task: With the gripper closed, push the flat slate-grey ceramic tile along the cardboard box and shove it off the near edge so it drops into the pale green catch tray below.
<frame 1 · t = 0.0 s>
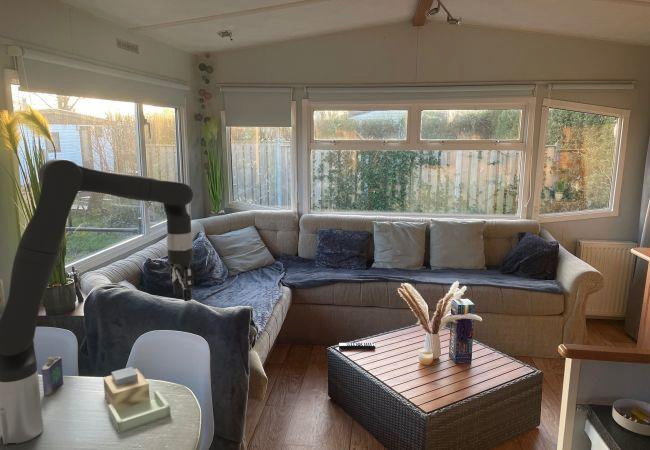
hand: (182, 297, 149), 29 cm above the table, fingers open, 8 cm apart
flask: (53, 389, 150), on the table
tile: (124, 379, 144), point 6 cm above the table, touching cardboard box
cardboard box: (127, 398, 144), on the table
tray: (139, 415, 136), on the table
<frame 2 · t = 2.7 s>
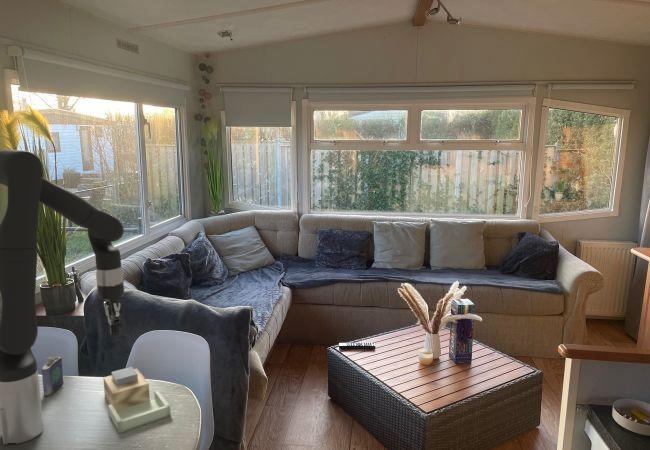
hand: (114, 334, 149), 17 cm above the table, fingers closed
nothing on the table moved.
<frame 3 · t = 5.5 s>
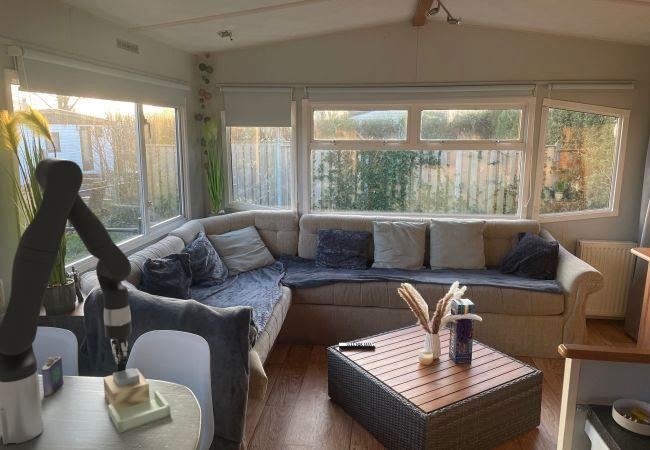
hand: (121, 373, 147), 7 cm above the table, fingers closed
tile: (126, 380, 143), point 6 cm above the table, touching cardboard box
everything else where it was.
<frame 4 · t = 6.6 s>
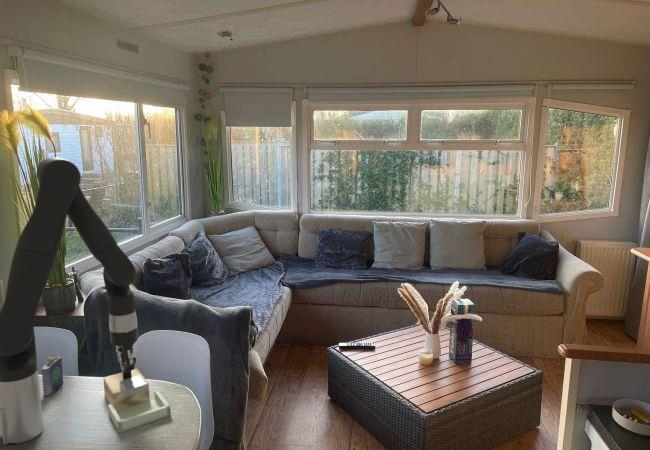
hand: (127, 381, 142), 7 cm above the table, fingers closed
tile: (133, 388, 139), point 6 cm above the table, touching cardboard box, gripper
everything else where it was.
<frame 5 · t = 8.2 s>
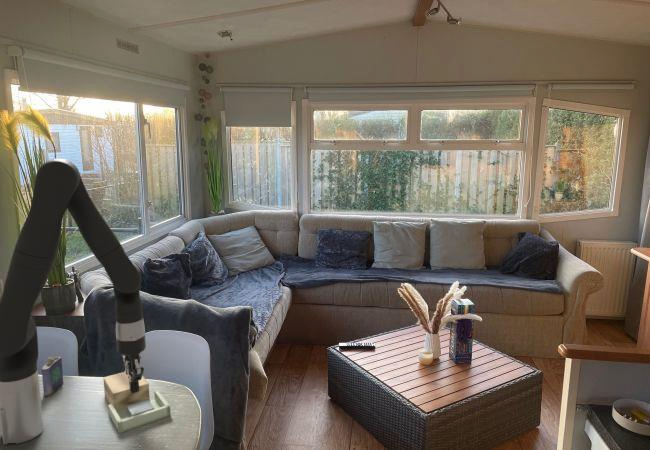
hand: (134, 391, 136), 7 cm above the table, fingers closed
tile: (140, 406, 135), point 2 cm above the table, tilted 180°, touching tray
everything else where it was.
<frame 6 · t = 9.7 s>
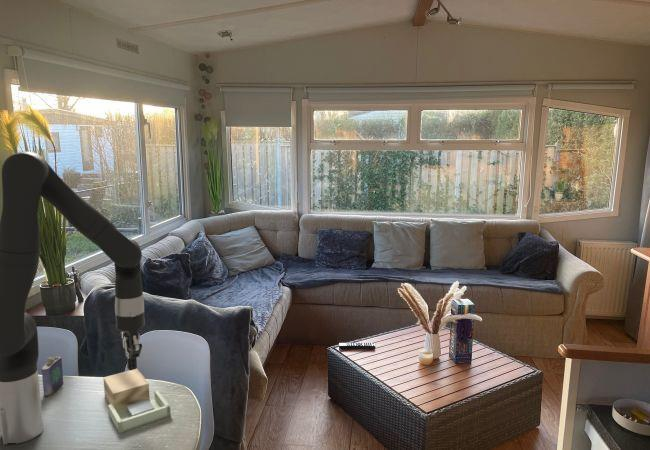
hand: (132, 368, 135), 14 cm above the table, fingers closed
nothing on the table moved.
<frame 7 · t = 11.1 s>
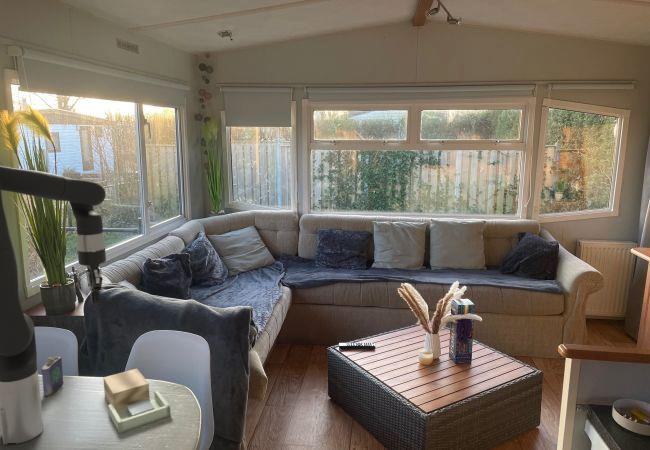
hand: (95, 302, 146), 28 cm above the table, fingers closed
nothing on the table moved.
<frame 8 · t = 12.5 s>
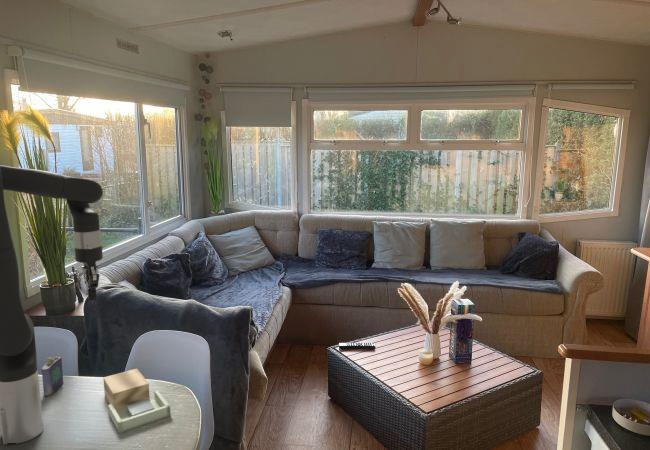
hand: (92, 299, 147), 29 cm above the table, fingers closed
nothing on the table moved.
at the end: tile inside the target area on the tray (0.3 cm from its centre), point 2.5 cm above the tray's base; tile moved 12.9 cm from its start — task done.
